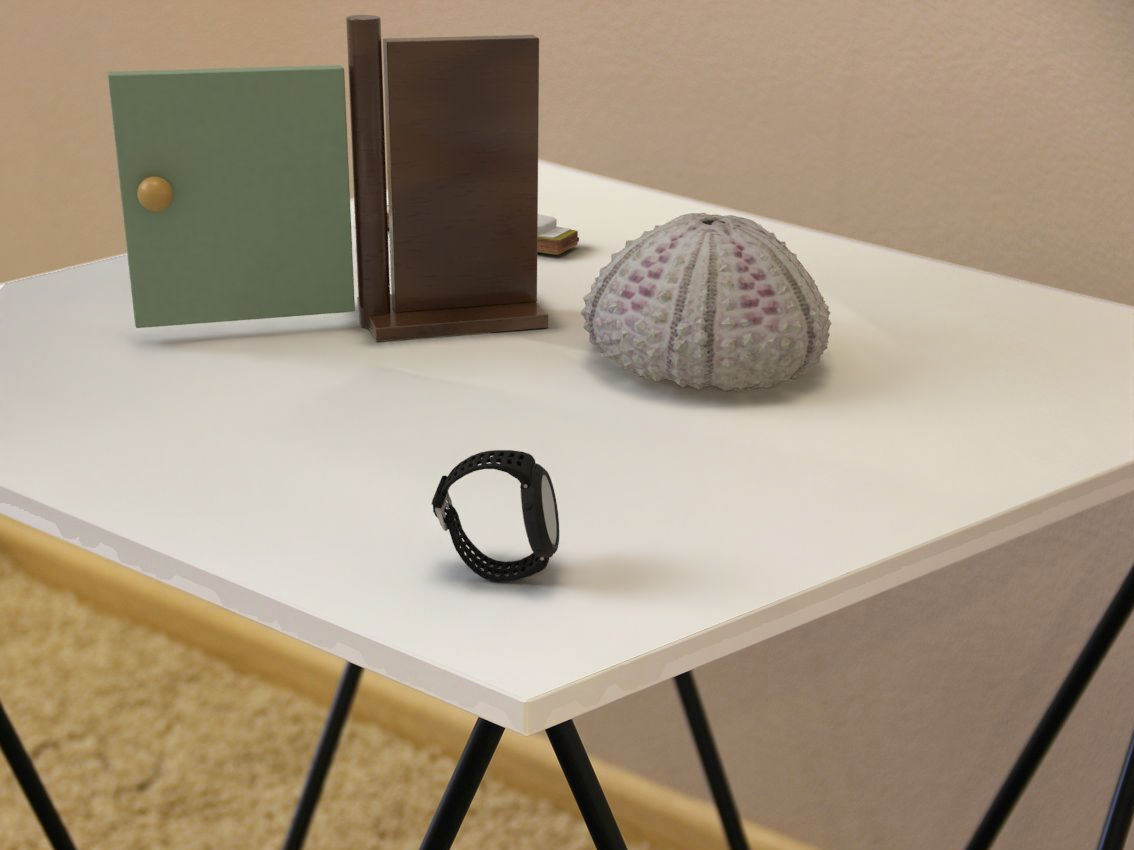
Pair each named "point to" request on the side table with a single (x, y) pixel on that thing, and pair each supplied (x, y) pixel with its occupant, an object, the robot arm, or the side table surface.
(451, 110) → the door frame
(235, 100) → the door
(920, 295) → the side table surface
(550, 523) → the smartwatch
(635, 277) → the sea urchin shell
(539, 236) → the harmonica
